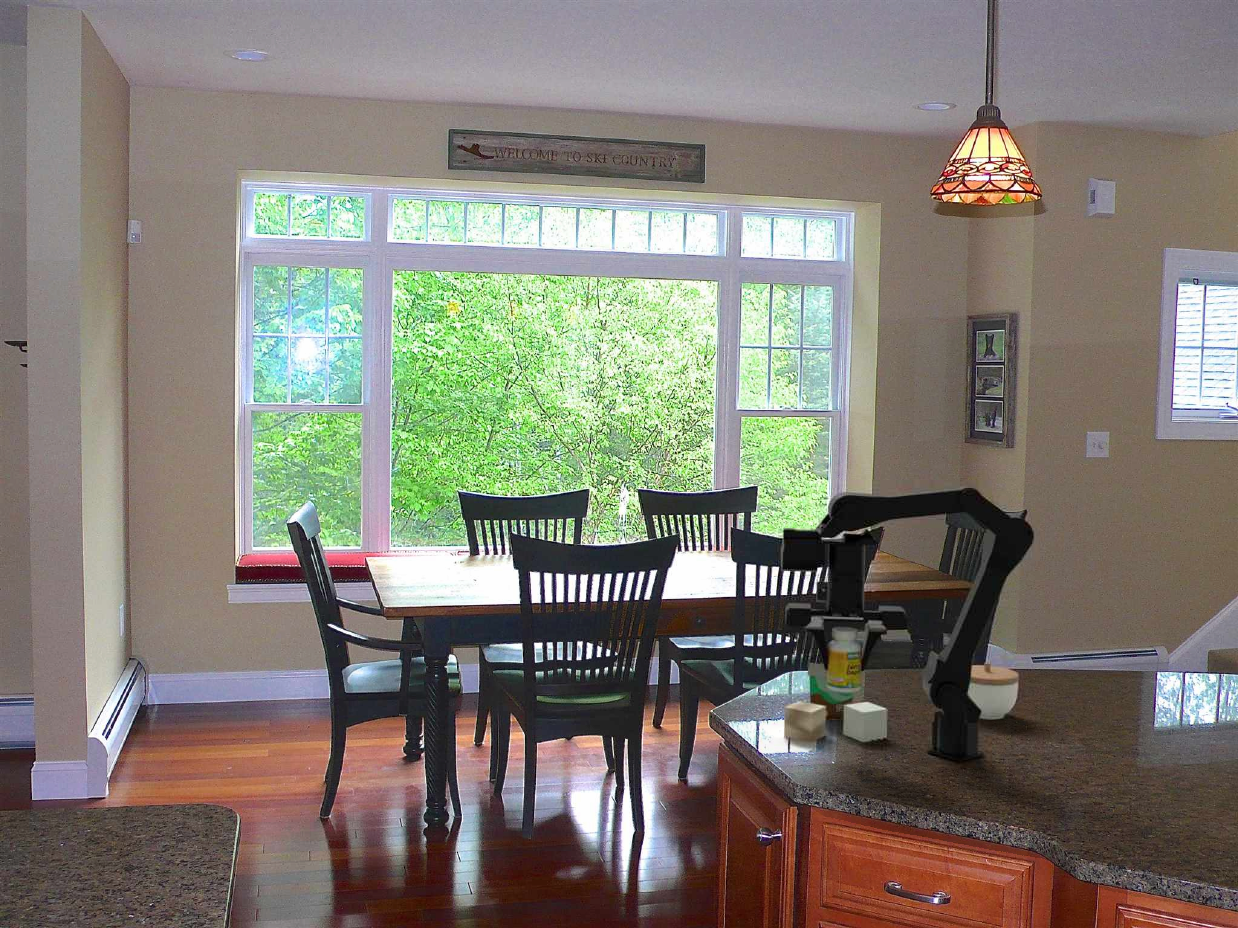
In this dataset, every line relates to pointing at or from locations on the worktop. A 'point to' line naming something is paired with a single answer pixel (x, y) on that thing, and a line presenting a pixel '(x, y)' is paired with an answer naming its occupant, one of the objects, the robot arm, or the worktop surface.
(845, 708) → the white cube
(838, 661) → the supplement bottle
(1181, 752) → the worktop surface
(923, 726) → the worktop surface
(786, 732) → the maple block
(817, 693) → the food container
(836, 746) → the worktop surface
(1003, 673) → the lidded jar
